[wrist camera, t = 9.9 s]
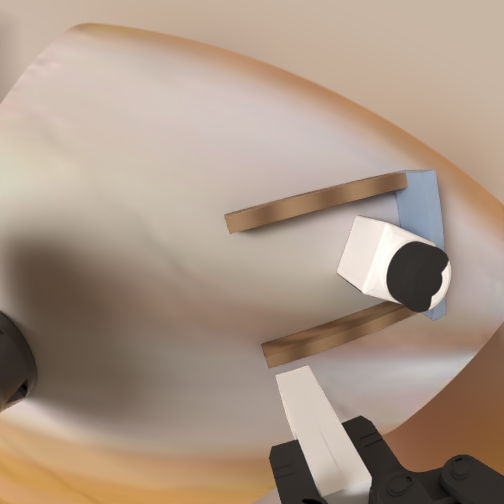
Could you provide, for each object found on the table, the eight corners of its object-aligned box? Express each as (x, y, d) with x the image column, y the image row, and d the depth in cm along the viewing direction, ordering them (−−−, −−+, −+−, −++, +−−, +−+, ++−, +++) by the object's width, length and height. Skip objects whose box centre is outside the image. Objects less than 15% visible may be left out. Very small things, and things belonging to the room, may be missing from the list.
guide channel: (264, 354, 36) (268, 368, 33) (224, 214, 32) (225, 217, 29) (407, 303, 37) (420, 311, 34) (391, 172, 33) (405, 172, 30)
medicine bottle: (334, 273, 35) (387, 313, 23) (355, 214, 33) (418, 230, 22) (382, 287, 36) (441, 326, 24) (402, 233, 35) (468, 255, 23)
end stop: (407, 303, 37) (433, 320, 31) (391, 172, 33) (421, 172, 27) (419, 298, 37) (445, 314, 31) (404, 170, 33) (434, 169, 27)
